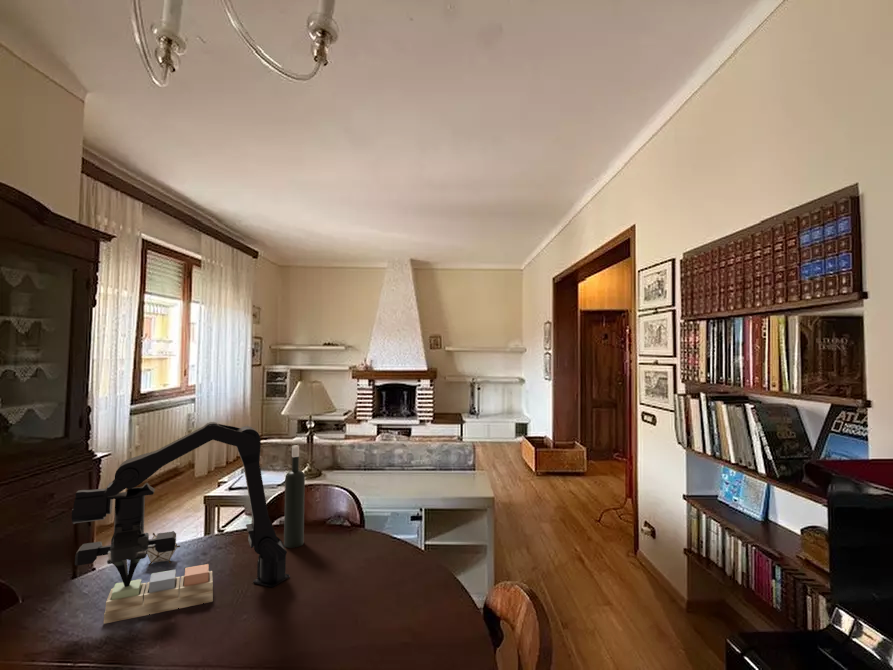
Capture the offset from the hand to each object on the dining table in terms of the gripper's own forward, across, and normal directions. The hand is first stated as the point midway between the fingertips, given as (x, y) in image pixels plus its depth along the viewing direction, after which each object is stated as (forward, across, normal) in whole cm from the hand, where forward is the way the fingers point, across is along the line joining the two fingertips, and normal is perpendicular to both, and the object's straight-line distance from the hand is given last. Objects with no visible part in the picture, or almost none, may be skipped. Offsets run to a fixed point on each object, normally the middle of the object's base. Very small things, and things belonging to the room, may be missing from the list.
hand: (127, 585), depth 108 cm
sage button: (+3, 0, 0) cm, 3 cm away
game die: (+6, +5, +26) cm, 27 cm away
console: (+5, +7, 0) cm, 9 cm away
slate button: (+2, +7, 0) cm, 7 cm away
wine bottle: (+6, +40, +23) cm, 47 cm away
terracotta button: (+2, +14, 0) cm, 14 cm away
